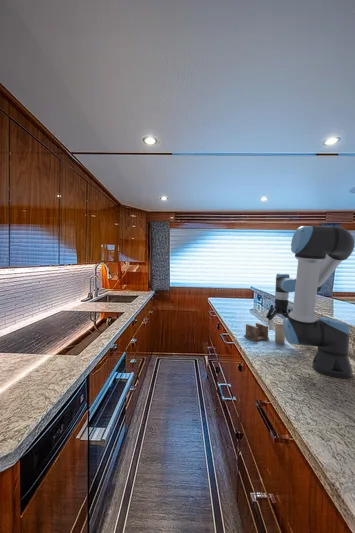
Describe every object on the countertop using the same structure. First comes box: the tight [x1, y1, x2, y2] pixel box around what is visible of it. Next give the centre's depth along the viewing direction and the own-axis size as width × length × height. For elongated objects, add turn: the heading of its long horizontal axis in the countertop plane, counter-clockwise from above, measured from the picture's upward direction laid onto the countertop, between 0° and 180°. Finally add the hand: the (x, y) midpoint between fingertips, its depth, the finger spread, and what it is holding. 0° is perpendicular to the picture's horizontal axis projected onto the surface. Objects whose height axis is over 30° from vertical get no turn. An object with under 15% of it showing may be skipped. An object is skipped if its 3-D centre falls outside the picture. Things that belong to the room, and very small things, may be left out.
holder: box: [244, 322, 270, 343], centre depth 148 cm, size 10×11×8 cm
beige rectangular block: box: [274, 322, 286, 345], centre depth 142 cm, size 5×5×11 cm
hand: (279, 333), depth 142 cm, fingers open, 13 cm apart
